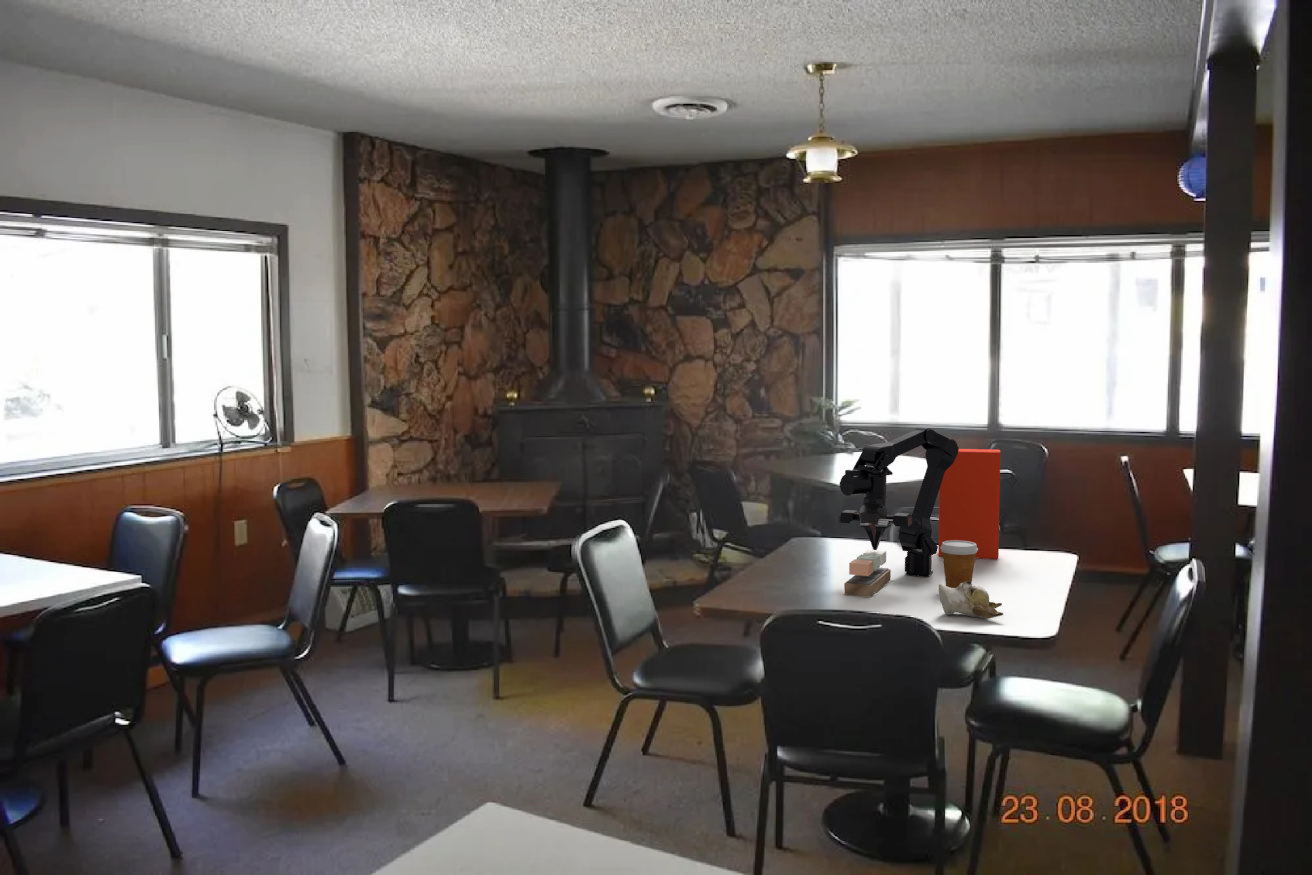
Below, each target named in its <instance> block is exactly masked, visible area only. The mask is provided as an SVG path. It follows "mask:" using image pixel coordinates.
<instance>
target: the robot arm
mask: <svg viewBox="0 0 1312 875" xmlns="http://www.w3.org/2000/svg"><path fill="white" fill-rule="evenodd" d="M918 447H921V449H924V451H925V456H924V458H925V460H926V461H925V462H926V466H927V467H926V469H925V473H924V476H923V480H922V482H921V485H920V488H919V491H918V494H917V498H916V501H915V505H914V507H913V511H912V513H907V512H896V513H895V514H894V515H888V509H887V499H888V495H887V476H893V474H894V473H893V471H892V470H890V469H889V468H888V467H889V466H890V465H891V464H893V463H894V462H895V460H896V458H897V457H899V456H901V455H903V454H905V453H907V452H910V451H912V450H914V449H916V448H918ZM959 449H960V447H959V446H958V443H957V441H956V440H955V439H953V438H949V437H947V436H945V435H942V434H940V433H938V432H936V431H935V430H934V429H932V428H929V427H916V428H915V429H913V430H912V431H910V432H907V433H905V434H902V435H900V436H898V437H896V438H894V439H891V440H890V441H888V442H887V441H886V442H881V443H873V444H870V445H865V446H864V447H863V448H862V452H861V453H860V455H859V457H858V459H857V460H856V463H855V465H854V466H853V468H852V469H845V471H844V474H843V475H842V477H841V478H840V481H839V489H840V491H841V493H842V495H844V496H846V497H850V496H857V495H864V496H863V503H862V506H861V507H860V509H859V511H858V510H856V509H855V510H854V509H853V510H851V509H845V510H843V511H841V512H840V513H839V514H838V523H840V524H851V523H852V522H853V521H859V523H860V524H859V527H860V528H863V530H865V532H866V534H867V536H868V539H869V541H870V544H871V548H872V550H878V547H879V545H880V543H881V540H882V537H883V535H884V533H885V531H886V529H888V528H890V527H891V525H892V524H893V526H895V527H899V529H898V531H897V532H899V533H898V536H897V537H898V540H899V543H900V546H901V549H902V552H906V556H905V557H904V572H905V573H904V575H905V576H911V577H913V576H914V577H925V578H928V577H930V576H931V575H932V574H933V573H934V571H933V570H932V569H933V568H932V561H933V560H932V559H933V558H932V557H933V556H934V555H936V554H937V553H938V547H939V545H937V543H936V542H935V541H934V539H932V532H933V529H932V524H931V521H930V520H931V517H932V514H933V510H934V507H935V504H936V500H937V498H938V496H939V489H940V486H941V482H942V479H943V476H944V473H945V471H946V470H947V469H948V468H949V467H950V466H951V465H952V464H953V463H954V461H955V459H956V456H957V454H958V451H959ZM891 523H892V524H891Z"/></svg>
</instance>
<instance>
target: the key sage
mask: <svg viewBox="0 0 1312 875" xmlns="http://www.w3.org/2000/svg"><path fill="white" fill-rule="evenodd" d="M856 559H857V560H869V561H873V571H875V570H877V569H878V568H881V565H880V556H875V555H863V554H862V553H861V554H859V555H858V556H857V557H856Z"/></svg>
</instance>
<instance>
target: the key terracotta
mask: <svg viewBox="0 0 1312 875" xmlns="http://www.w3.org/2000/svg"><path fill="white" fill-rule="evenodd" d="M848 565H849V566H848V569H849V570H848V574H849V575H850V576H851V575H853V576H855V575H861V576H869V575H870V574H872V573H873V561H869V560H857V558H855V559H853V560H852V561H850V562H849V564H848Z"/></svg>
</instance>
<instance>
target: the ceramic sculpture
mask: <svg viewBox="0 0 1312 875" xmlns="http://www.w3.org/2000/svg"><path fill="white" fill-rule="evenodd" d="M972 583H973V582H972ZM972 583H971V581H967V582H963V583H961V584H960V585H959V586H958V587H957V588H950V587H947V586H946V585H943V584H941V583H940V584H938V586H937V587H938V593H939V594H938V596H939V602H940V604H941V607H942V609H943V610H942V611H943V612H944V613H945V615H948V616H951V615H953V614H955V613H956V614H962V615H963V616H967V617H971V618H972V617H973V618H978V617H981V618H983V619H991V618H992V619H993V618H997V617H1000V616H1003V615H1004V613H1003V612H1000V611H998V610H997V608H1000V607H1002V606H1003V603H1001V602H994V601H990V595H989V593H988V591H986V590H985V588H983V587H981V586H979V585H978V586H977V585H973V584H972Z"/></svg>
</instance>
